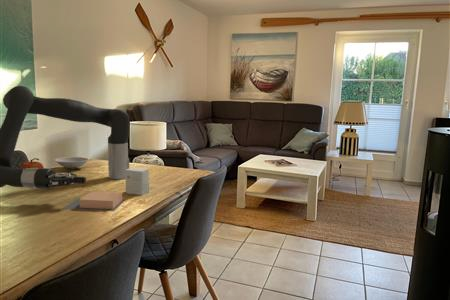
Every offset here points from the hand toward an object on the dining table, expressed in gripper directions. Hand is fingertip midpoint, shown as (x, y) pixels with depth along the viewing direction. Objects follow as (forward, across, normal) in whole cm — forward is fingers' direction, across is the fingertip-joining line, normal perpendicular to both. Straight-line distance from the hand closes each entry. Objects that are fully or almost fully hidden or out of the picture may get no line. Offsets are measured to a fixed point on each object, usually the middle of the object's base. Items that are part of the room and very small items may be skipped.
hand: (85, 180), depth 127 cm
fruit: (-40, +34, +10) cm, 54 cm away
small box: (+14, +17, +10) cm, 24 cm away
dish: (-33, +59, +10) cm, 68 cm away
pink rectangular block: (0, 0, +7) cm, 7 cm away
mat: (+4, 0, +10) cm, 10 cm away
